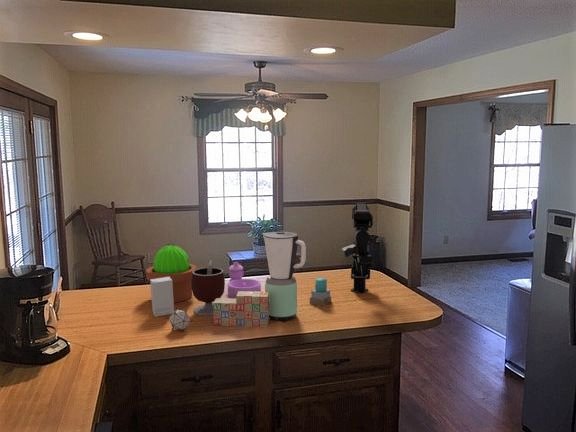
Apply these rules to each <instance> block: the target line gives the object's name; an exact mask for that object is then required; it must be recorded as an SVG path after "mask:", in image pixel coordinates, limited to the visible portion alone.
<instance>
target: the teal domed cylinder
mask: <svg viewBox="0 0 576 432" xmlns="http://www.w3.org/2000/svg"><path fill="white" fill-rule="evenodd" d="M327 280H328V279H327V278H323V277H319V278H318V277H317V278H315V281H314V282H315V285H314V287H315V288H314V289H315V291H316V292H326V291H327V289H328V287H327V286H328V285H327V282H328V281H327Z"/></svg>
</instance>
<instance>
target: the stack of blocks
mask: <svg viewBox="0 0 576 432" xmlns="http://www.w3.org/2000/svg"><path fill="white" fill-rule="evenodd" d="M212 304H213V310H214V311H213V315H212V316H213V326H227V327H228V326H231V327H260V328H261V327H262V328H267V327H269V324H270V323H269V322H270V319H269V292H265V291H261V292H260V291H254V292H250V291H247V292H245V291H238V293H237V296H236V299H231V298H228V297H227V298H226V297H225V298H223V297H221V298H216V299H215V301H214V302H212Z"/></svg>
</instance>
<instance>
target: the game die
mask: <svg viewBox="0 0 576 432" xmlns="http://www.w3.org/2000/svg"><path fill="white" fill-rule="evenodd" d="M166 319H168V320H169V322H170V325H171V327H172V328H171V330H172V331H173V330H175V329H176V330H178V331H181V332H182V333H183V332H184V330H185V328H186V327H187V326H188V325H189V324H190V323H193V320H191V319H190V317H189V315H188V309H185V310H181V309H178V308H177V307H176V308H175V310H174V313H173V314H170V316H169V317H168V316H167V317H166Z"/></svg>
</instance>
